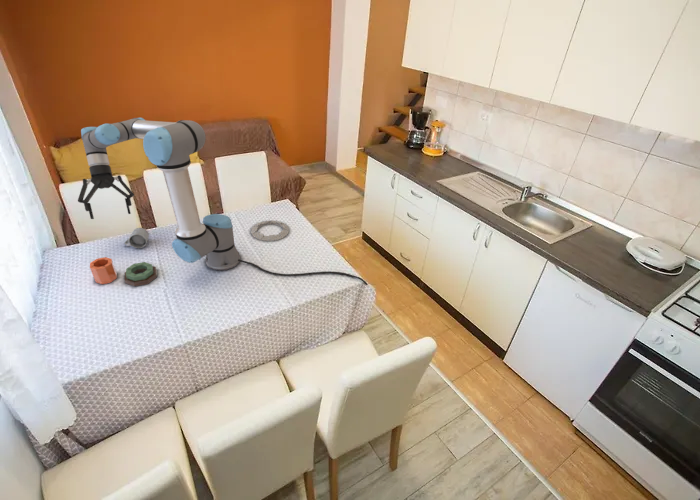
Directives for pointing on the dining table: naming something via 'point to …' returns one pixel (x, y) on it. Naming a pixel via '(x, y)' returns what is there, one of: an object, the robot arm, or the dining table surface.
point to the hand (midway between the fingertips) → (111, 216)
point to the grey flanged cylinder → (138, 238)
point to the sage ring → (140, 276)
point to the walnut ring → (144, 281)
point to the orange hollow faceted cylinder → (103, 270)
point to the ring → (270, 237)
